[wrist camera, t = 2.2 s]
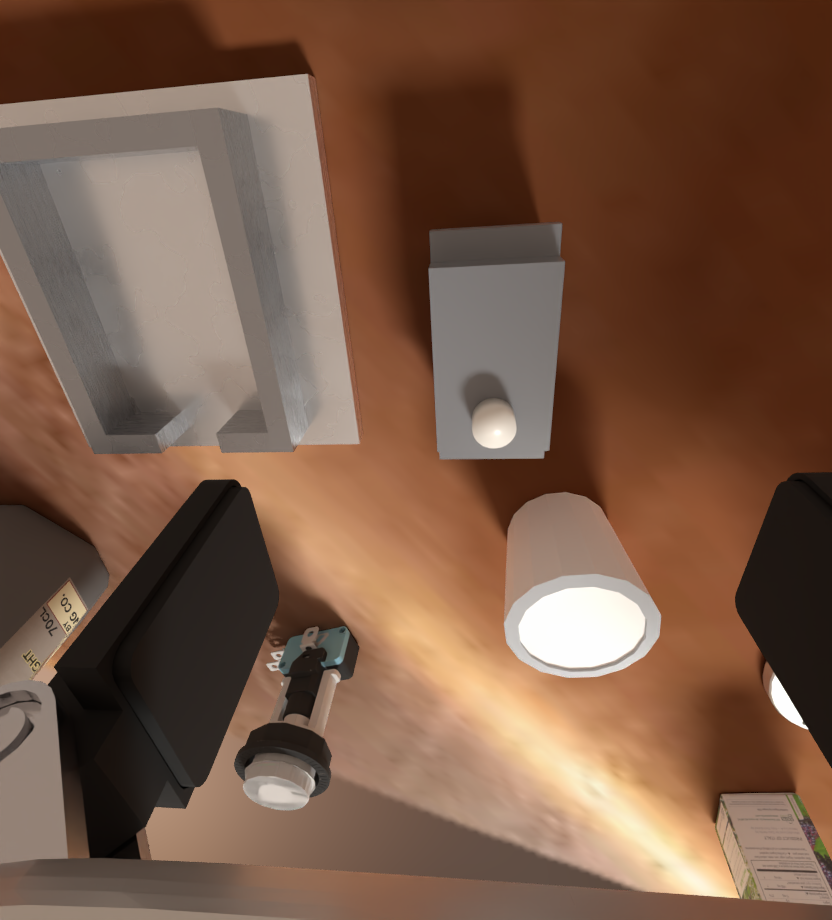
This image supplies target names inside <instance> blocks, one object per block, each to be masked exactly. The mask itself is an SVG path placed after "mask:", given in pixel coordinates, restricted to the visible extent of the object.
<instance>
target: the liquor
mask: <svg viewBox="0 0 832 920" xmlns="http://www.w3.org/2000/svg"><path fill="white" fill-rule="evenodd" d="M108 580H109V574H108V572H107V570H106V568H105V566H104V564H103V562H102V560H101V558H100V556H99V554H98V552H97V551H96V549H95V547H94V546H92V545H91V544H89V543H87V542H85V541H84V540H82V539H80V538H79V537H77V536H75V535H74V534H72V533H70V532H68V531H67V530H65V529H63V528H62V527H60V526H58V525H57V524H55V523H53V522H51V521H50V520H48V519H46V518H45V517H43V516H41V515H40V514H38V513H36V512H35V511H33V510H31V509H29V508H28V507H26V506H24V505H0V686H3V685H6V684H8V683H12V682H18V681H24V680H32V679H33V678H34V677H35V676H36V675H37V674H38V672H39V671H40V670H41V669H42V668H43V666H44V665H45V664H46V663H47V662H48V661H49V659H50V658H51V657H52V656H53V655H54V654H55V652H56V651H57V650H58V649H59V648H60V646H61V645H62V644H63V643H64V642H65V641H66V639H67V638H68V637H69V636H70V635H71V634H72V632H73V631H74V630H75V629H76V628H77V626H78V625H79V624H80V623H81V621H82V620H83V619H84V617H85V616H86V615H87V613H88V612H89V611H90V609H91V608H92V607H93V605H94V604H95V603H96V601H97V600H98V599H99V597H100V596H101V595H102V593H103V592H104V591H105V589H106V588H107V587H108Z"/></svg>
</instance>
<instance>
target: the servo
mask: <svg viewBox="0 0 832 920" xmlns="http://www.w3.org/2000/svg"><path fill="white" fill-rule="evenodd" d="M561 234H562V223H561V222H546V223H530V224H513V225H497V226H481V227H464V228H448V229H432V230H430V231H429V237H430V258H431V263H430V266H429V268H428V269H429V290H430V310H431V330H432V351H433V371H434V391H435V412H436V432H437V452H440V459H537V458H544V451H549V448H550V436H551V424H552V412H553V400H554V388H555V376H556V364H557V353H558V341H559V329H560V317H561V305H562V293H563V281H564V269H565V261H564V260H563V259H562V258H561V257H560V247H561Z"/></svg>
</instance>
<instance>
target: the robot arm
mask: <svg viewBox="0 0 832 920" xmlns="http://www.w3.org/2000/svg"><path fill="white" fill-rule="evenodd" d="M278 601H279V590H278V586H277V582H276V579H275V575H274V572H273V569H272V565H271V562H270V558H269V555H268V552H267V548H266V545H265V542H264V538H263V535H262V531H261V528H260V525H259V521H258V518H257V514H256V511H255V508H254V504H253V501H252V498H251V494H250V492H249V490H248V489H247V488H246V487H241V485H240V484H239V482H238V481H236V480H204V481H203V482H201V483H200V484H199V486H198V487H197V488H196V489H195V491H194V492H193V493H192V494H191V496H190V497H189V498H188V499H187V501H186V502H185V503H184V504H183V506H182V507H181V508H180V509H179V511H178V512H177V513H176V514H175V516H174V517H173V518H172V519H171V521H170V522H169V523H168V524H167V526H166V527H165V528H164V529H163V531H162V532H161V533H160V534H159V536H158V537H157V538H156V539H155V541H154V542H153V543H152V545H151V546H150V547H149V548H148V550H147V551H146V552H145V553H144V555H143V556H142V557H141V558H140V560H139V561H138V562H137V563H136V565H135V566H134V567H133V568H132V570H131V571H130V572H129V573H128V575H127V576H126V577H125V578H124V580H123V581H122V582H121V583H120V585H119V586H118V587H117V588H116V590H115V591H114V592H113V593H112V595H111V596H110V597H109V598H108V600H107V601H106V602H105V603H104V605H103V606H102V607H101V608H100V610H99V611H98V612H97V613H96V615H95V616H94V617H93V618H92V620H91V621H90V622H89V623H88V625H87V626H86V627H85V629H84V630H83V631H82V632H81V634H80V635H79V636H78V637H77V639H76V640H75V641H74V642H73V644H72V645H71V646H70V647H69V649H68V650H67V651H66V652H65V654H64V655H63V656H62V657H61V659H60V660H59V661H58V662H57V664H56V665H55V666H54V668H55V669H56V671H57V674H56V675H55V676H54V678H53V679H52V680H51V681H50V683H49V684H48V685H46V684H45V683H43V682H41V681H33V680H24V681H18V682H12V683H8V684H6V685H3V686H0V920H832V906H831V905H818V904H805V903H791V902H778V901H765V900H752V899H738V898H725V897H712V896H698V895H684V894H669V893H655V892H641V891H627V890H613V889H599V888H585V887H570V886H556V885H542V884H527V883H513V882H498V881H485V880H470V879H456V878H455V879H454V878H441V877H427V876H411V875H396V874H381V873H380V874H379V873H365V872H364V873H363V872H350V871H334V870H318V869H304V868H287V867H272V866H256V865H241V864H225V863H204V862H203V863H202V862H181V861H159V860H152V859H151V854H150V849H149V844H148V840H147V835H146V830H145V827H146V824H147V822H148V820H149V818H150V816H151V814H152V812H153V809H154V808H155V807H166V808H184V809H185V808H186V807H187V804H188V802H189V799H190V797H191V795H192V792H193V790H194V788H195V787H200V786H201V785H203V783H204V782H205V781H206V779H207V777H208V775H209V773H210V770H211V768H212V766H213V763H214V760H215V758H216V756H217V753H218V751H219V748H220V746H221V743H222V741H223V739H224V736H225V734H226V731H227V729H228V726H229V724H230V721H231V719H232V717H233V714H234V712H235V709H236V707H237V704H238V702H239V699H240V697H241V695H242V692H243V690H244V687H245V685H246V682H247V680H248V677H249V675H250V672H251V670H252V668H253V665H254V663H255V660H256V658H257V655H258V653H259V650H260V648H261V646H262V643H263V641H264V638H265V636H266V633H267V631H268V628H269V626H270V623H271V621H272V619H273V616H274V614H275V611H276V609H277V606H278ZM735 603H736V608H737V612H738V614H739V616H740V618H741V619H742V621H743V623H744V624H745V626H746V627H747V629H748V631H749V632H750V634H751V636H752V637H753V639H754V641H755V642H756V644H757V646H758V647H759V649H760V651H761V652H762V654H763V656H764V657H765V659H766V660H767V662H766V664H765V667H764V672H763V684H764V688H765V690H766V692H767V694H768V696H769V698H770V700H771V702H772V704H773V705H774V707H775V708H776V710H777V711H778V712H779V713H780V714H781V715H782V716H783V717H785V718H786V719H787V720H788V721H790V722H792V723H794V724H796V725H798V726H800V727H802V728H805V729H808V730H809V732H810V733H811V735H812V736H813V738H814V740H815V741H816V743H817V745H818V746H819V748H820V750H821V751H822V753H823V755H824V756H825V758H826V760H827V761H828V763H829V765H830V766H831V768H832V472H822V473H795V474H792V475H791V476H790V477H789V478H788V480H787V481H785V482H781V483H780V484H779V485H778V486H777V488H776V490H775V493H774V495H773V498H772V501H771V503H770V506H769V508H768V511H767V514H766V516H765V519H764V521H763V524H762V527H761V529H760V532H759V535H758V537H757V540H756V542H755V545H754V548H753V550H752V553H751V555H750V558H749V561H748V563H747V566H746V568H745V571H744V574H743V576H742V579H741V581H740V584H739V587H738V589H737V592H736V596H735Z"/></svg>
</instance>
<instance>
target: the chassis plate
mask: <svg viewBox="0 0 832 920" xmlns="http://www.w3.org/2000/svg"><path fill="white" fill-rule="evenodd" d="M0 254H1V256H2V259H3V261H4V263H5V265H6V267H7V269H8V272H9V274H10V276H11V278H12V280H13V282H14V285H15V287H16V289H17V291H18V293H19V295H20V298H21V300H22V302H23V304H24V306H25V308H26V311H27V313H28V315H29V317H30V319H31V321H32V324H33V326H34V328H35V330H36V332H37V334H38V337H39V339H40V341H41V343H42V345H43V347H44V350H45V352H46V354H47V356H48V358H49V360H50V363H51V365H52V367H53V369H54V371H55V373H56V376H57V378H58V380H59V382H60V384H61V386H62V389H63V391H64V393H65V395H66V397H67V399H68V402H69V404H70V406H71V408H72V410H73V412H74V415H75V417H76V419H77V421H78V423H79V425H80V428H81V430H82V432H83V434H84V436H85V438H86V441H87V443H88V445H89V447H92V450H93V452H94V454H130V453H163V452H164V451H165V450H166V449H167V448H168V447H169V446H220V449H221V452H222V453H230V452H294V450H295V449H296V447H297V445H315V444H360V442H361V439H362V437H363V429H362V421H361V414H360V406H359V399H358V392H357V384H356V377H355V369H354V362H353V355H352V347H351V340H350V332H349V325H348V317H347V310H346V303H345V295H344V288H343V280H342V273H341V265H340V258H339V251H338V243H337V236H336V228H335V221H334V214H333V206H332V199H331V191H330V184H329V176H328V169H327V162H326V154H325V147H324V139H323V132H322V124H321V117H320V110H319V102H318V95H317V87H316V80H315V78H314V77H313V76H311V75H309V74H300V75H290V76H280V77H270V78H260V79H250V80H240V81H230V82H220V83H210V84H200V85H190V86H180V87H170V88H160V89H150V90H140V91H131V92H121V93H111V94H101V95H91V96H81V97H71V98H61V99H51V100H41V101H31V102H21V103H11V104H1V105H0Z"/></svg>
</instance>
